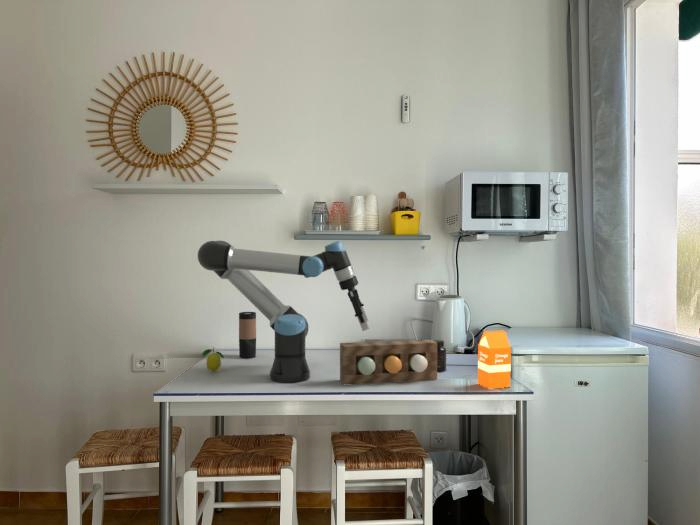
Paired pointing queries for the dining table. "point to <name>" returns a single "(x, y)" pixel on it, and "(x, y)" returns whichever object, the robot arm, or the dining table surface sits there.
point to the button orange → (392, 364)
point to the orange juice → (494, 360)
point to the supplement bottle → (441, 356)
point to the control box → (380, 352)
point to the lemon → (213, 359)
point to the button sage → (366, 365)
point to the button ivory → (418, 363)
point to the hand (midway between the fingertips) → (365, 325)
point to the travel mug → (247, 335)
